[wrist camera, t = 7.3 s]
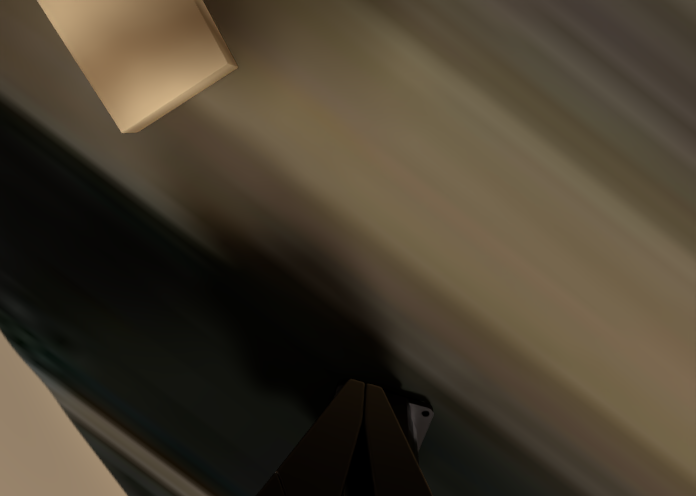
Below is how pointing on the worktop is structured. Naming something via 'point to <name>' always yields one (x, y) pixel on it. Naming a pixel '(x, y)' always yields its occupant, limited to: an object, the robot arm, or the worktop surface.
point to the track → (142, 53)
